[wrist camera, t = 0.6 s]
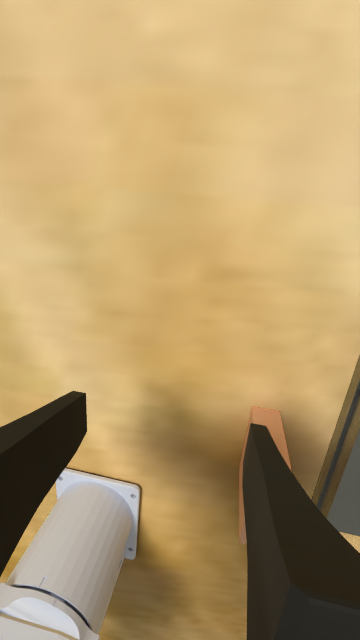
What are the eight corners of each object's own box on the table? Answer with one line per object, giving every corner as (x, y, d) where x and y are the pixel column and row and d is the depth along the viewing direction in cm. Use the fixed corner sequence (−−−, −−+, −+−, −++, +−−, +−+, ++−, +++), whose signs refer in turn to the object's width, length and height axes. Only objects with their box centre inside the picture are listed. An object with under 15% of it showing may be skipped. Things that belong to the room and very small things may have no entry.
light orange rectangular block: (264, 473, 24) (271, 550, 19) (239, 467, 25) (239, 542, 19) (279, 411, 22) (293, 477, 17) (252, 406, 22) (256, 469, 17)
